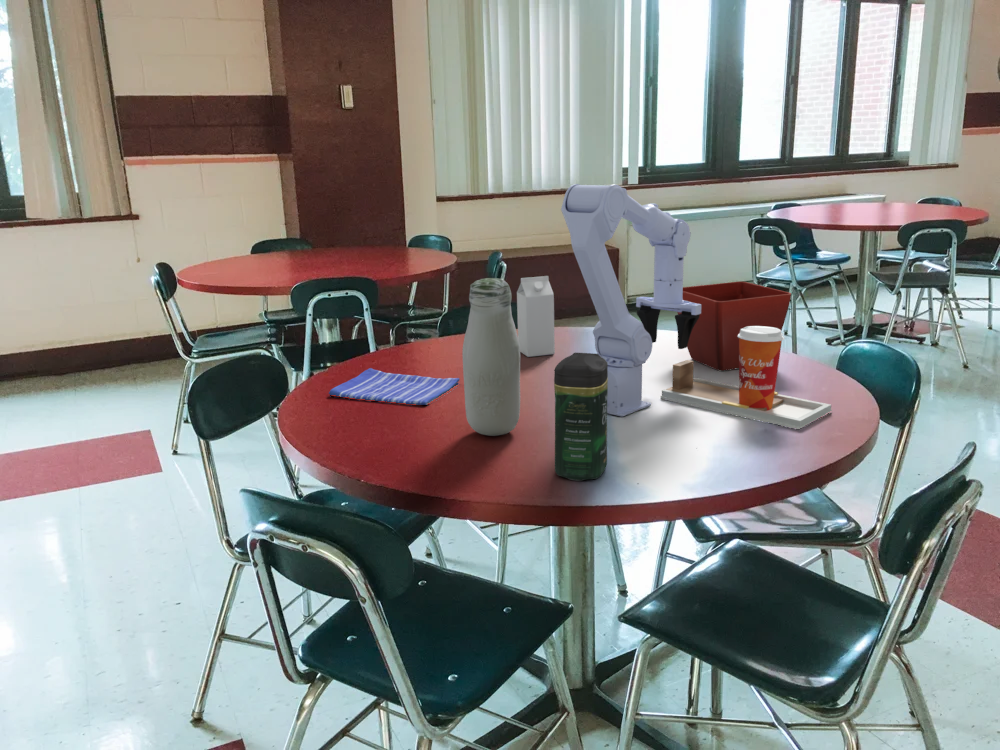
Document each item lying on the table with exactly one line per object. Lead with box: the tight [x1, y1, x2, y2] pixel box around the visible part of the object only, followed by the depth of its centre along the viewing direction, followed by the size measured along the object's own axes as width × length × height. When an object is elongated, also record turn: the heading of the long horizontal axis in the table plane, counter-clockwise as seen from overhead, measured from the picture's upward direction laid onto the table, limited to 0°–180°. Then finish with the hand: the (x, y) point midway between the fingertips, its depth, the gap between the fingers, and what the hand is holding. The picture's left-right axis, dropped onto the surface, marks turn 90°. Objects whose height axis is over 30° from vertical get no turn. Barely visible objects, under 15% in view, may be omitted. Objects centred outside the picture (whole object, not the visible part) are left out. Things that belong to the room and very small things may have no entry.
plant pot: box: [676, 281, 792, 372], centre depth 185 cm, size 19×19×17 cm
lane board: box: [660, 377, 833, 430], centre depth 156 cm, size 13×29×2 cm, turn 44°
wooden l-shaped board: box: [664, 359, 783, 411], centre depth 159 cm, size 9×21×6 cm, turn 44°
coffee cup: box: [738, 326, 785, 411], centre depth 152 cm, size 8×8×15 cm
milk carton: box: [516, 275, 556, 358], centre depth 199 cm, size 7×7×19 cm
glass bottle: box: [462, 277, 521, 437], centre depth 142 cm, size 10×10×28 cm
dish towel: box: [328, 367, 460, 406], centre depth 174 cm, size 17×24×3 cm
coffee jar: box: [553, 352, 608, 482], centre depth 125 cm, size 10×8×19 cm
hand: (666, 345), depth 166 cm, fingers open, 7 cm apart
